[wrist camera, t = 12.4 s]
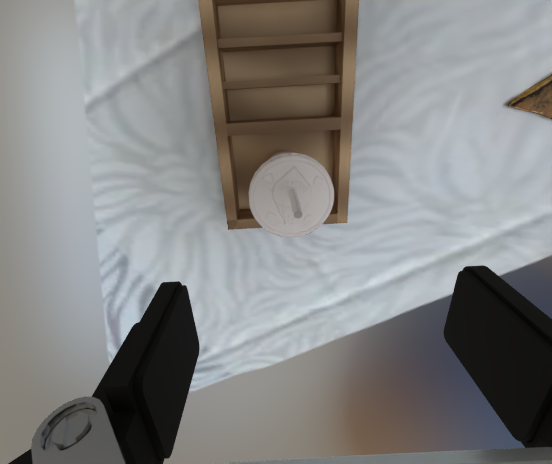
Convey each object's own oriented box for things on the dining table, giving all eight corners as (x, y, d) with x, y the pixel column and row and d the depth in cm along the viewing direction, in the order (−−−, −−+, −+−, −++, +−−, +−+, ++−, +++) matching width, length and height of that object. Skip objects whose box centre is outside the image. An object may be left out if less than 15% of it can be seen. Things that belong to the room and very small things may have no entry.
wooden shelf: (205, -5, 25) (195, -22, 22) (347, -13, 25) (360, -31, 22) (232, 214, 34) (228, 229, 30) (338, 208, 34) (347, 222, 30)
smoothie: (319, 138, 29) (359, 173, 17) (311, 199, 32) (341, 270, 19) (254, 133, 29) (244, 167, 16) (252, 196, 32) (242, 266, 19)
